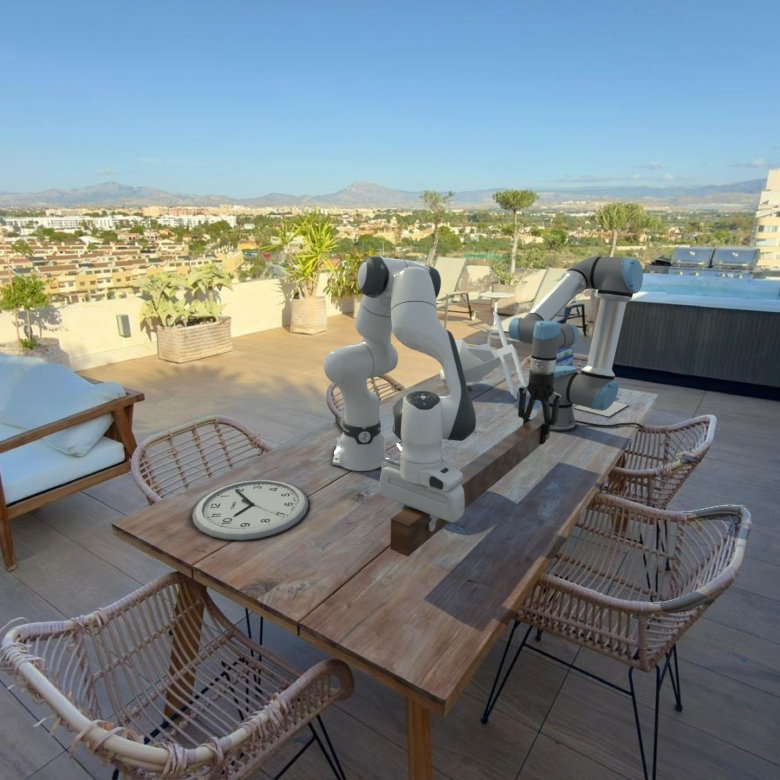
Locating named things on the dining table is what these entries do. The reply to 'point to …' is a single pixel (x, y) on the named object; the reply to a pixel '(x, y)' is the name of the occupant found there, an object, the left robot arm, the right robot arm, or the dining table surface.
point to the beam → (469, 484)
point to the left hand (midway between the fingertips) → (418, 525)
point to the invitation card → (608, 412)
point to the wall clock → (250, 510)
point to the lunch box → (564, 357)
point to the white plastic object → (488, 360)
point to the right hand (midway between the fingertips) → (534, 440)
